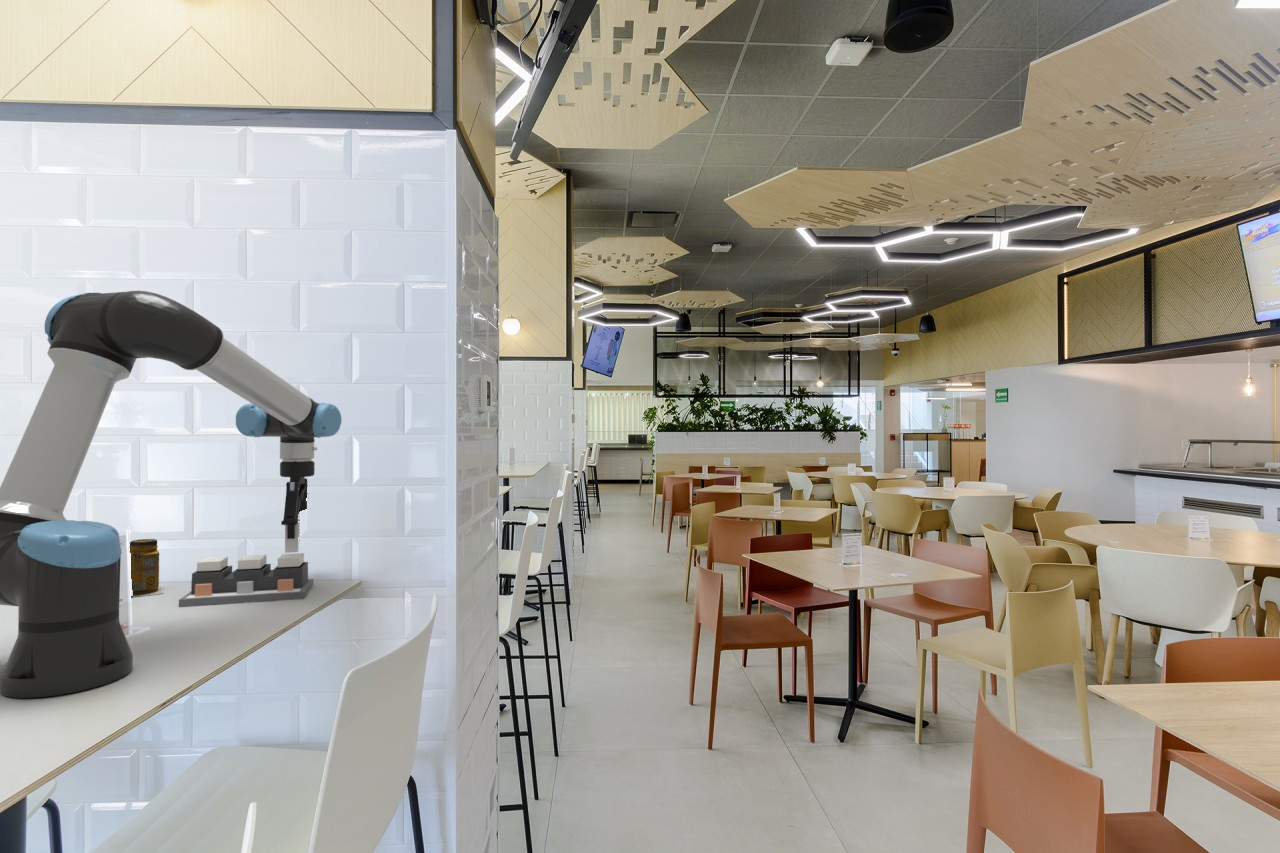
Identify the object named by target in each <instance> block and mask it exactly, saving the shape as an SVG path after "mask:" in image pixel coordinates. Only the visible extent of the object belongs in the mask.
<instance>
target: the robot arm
mask: <svg viewBox="0 0 1280 853" xmlns="http://www.w3.org/2000/svg"><path fill="white" fill-rule="evenodd" d="M44 334H46V335H47V342H48V343H49V349H48V350H47V353H46V354H47V356H48V357H49V358H50V359H51V360H50V361H52V363H53V368H52V370H51V372H50V374H49V376H48V379H47V381H46V383H45V385H44V388H43V390H42V392H41V394H40V397H39V399H38V401H37V404H36V406H35V408H34V410H33V413H32V414H31V417H30V419H29V422H28V424H27V426H26V429H25V430H24V433H23V435H22V437H21V439H20V442H19V444H18V445H17V446H18V447H17V449H16V451H15V453H14V456H13V458H12V460H11V462H10V464H9V466H8V469H7V471H6V474H5V476H4V478H3V479H2V482H1V485H0V606H8V607H9V606H10V607H18V613H17V614H18V618H17V620H18V623H17V624H18V629H17V630H18V631H17V638H16V640H15V642H14V645H13V647H12V648H11V649H12V650H11V652H10V654H9V657H8V659H7V661H6V664H5V667H4V669H3V671H2V674H1V677H0V693H1V694H2V695H3V696H5V697H9V698H17V699H18V698H19V699H29V698H30V699H32V698H33V699H34V698H46V697H53V696H61V695H67V694H71V693H77V692H80V691H81V692H82V691H85V690H89V689H93V688H94V689H95V688H97V687H100V686H103V685H107V684H109V683H112V682H114V681H117V680H119V679H121V678H123V677H126V676H127V675H128V674H130V673H131V672H132V671H133V669H134V666H133V665H134V664H133V662H134V661H133V660H134V657H133V656H134V655H133V651H132V649H131V646H130V645H129V642H128V640H127V637H126V634H125V632H124V630H123V627H122V625H121V623H120V622H121V621H120V596H121V595H120V594H121V593H120V592H121V591H120V588H121V587H120V586H121V557H122V556H121V555H122V548H121V540H120V533H119V532H118V530H117V529H116V528H115V527H114V526H112V525H109V524H107V523H104V522H99V521H92V520H91V521H90V520H72V519H71V520H70V519H69V520H68V519H67V518H66V517H65V516H64V510H65V508H66V506H67V504H68V503H67V502H68V500H69V498H70V495H71V493H72V491H73V489H74V486H75V484H76V481H77V478H78V476H79V473H80V471H81V468H82V466H83V464H84V462H85V458H86V456H87V453H88V451H89V449H90V446H91V443H92V441H93V438H94V436H95V434H96V431H97V429H98V426H99V424H100V421H101V418H102V416H103V414H104V411H105V409H106V407H107V404H108V401H109V399H110V397H111V394H112V391H113V389H114V386H115V384H116V383H118V382H120V381H123V380H126V379H128V378H129V377H130V375H131V372H132V370H133V368H134V366H135V363H136V360H137V359H146V358H150V359H156V360H163V361H167V362H170V363H172V364H175V365H176V366H179V367H180V368H182V369H184V370H186V371H198V372H200V373H201V374H203V375H205V376H206V377H208V378H210V379H211V380H213V381H214V382H216V383H218V384H219V385H221V386H223V387H224V388H226V389H228V390H229V391H231V392H233V393H234V394H235V395H237V396H239V397H240V398H242V399H244V400H246V401H247V402H249V403H246V404H243V405H242V406H240V408H238V410H237V412H236V414H235V426H236V429H237V430H238V432H239V433H241V434H242V435H243V436H245V437H254V438H261V437H264V438H265V437H267V438H268V437H269V438H270V437H276V438H279V459H280V460H282V461H281V462H280V463H279V476H280V477H282V478H289V481H287V482H286V484H285V487H286V488H285V501H284V503H285V504H284V510H283V511H284V512H283V520H281V522H280V524H281V526H284V554H292V553H298V552H299V544H300V543H299V542H298V537H299V533H300V532H299V530H300V529H299V527H300V526H299V524H300V523H298V521H300V520H299V519H298V517H299V516H298V514H299V512H300V511H302V510H305V509H307V501H306V498H307V494H308V495H309V492H308V493H307V487H308V481H307V479H308V478H307V477H313V476H315V462H314V461H313V460H312V459H314V458H315V451H318V447H317V446H315V438H318V439H320V438H327V437H332V436H334V435H336V434H338V432H339V431H340V428H341V425H342V415H341V412H340V410H339V408H338V407H337V406H336V405H335V404H332V403H327V402H326V403H325V402H321V403H318V402H316V401H315V400H313V398H311V397H309V396H307V395H306V394H305V393H304V392H301V391H300V390H299V389H298V388H296V387H295V386H293V385H292V384H290V383H289V382H288V381H286V380H285V379H283V378H282V377H280V376H279V375H277V374H276V373H274V372H273V371H271V370H270V369H269V368H268V367H266V366H265V365H263V364H261V363H260V362H258V360H256V359H255V358H253V357H252V356H250V355H248V354H247V353H246V352H244V351H243V350H241V349H240V348H239V347H238V346H236V345H235V344H233V343H232V342H230V341H229V340H227V339H225V336H224V332H223V331H222V329H221V328H220V327H219V326H218V325H217V324H214V323H213V322H212V321H211V320H208V319H207V318H206V317H204V316H203V315H201V314H199V313H198V312H197V311H194V310H193V309H191V308H189V307H187V306H186V305H184V304H182V303H180V302H178V301H176V300H174V299H171V298H169V297H167V296H166V295H165V296H164V295H161V294H159V293H155V292H151V291H146V290H129V291H117V292H116V291H114V292H84V293H83V292H82V293H79V294H76V295H71V296H67V297H66V298H63V299H61V300H60V301H57V303H55V304H54V305H53V306H52V307H51V309H49V311H48V313H47V314H46V318H45V320H44ZM306 478H307V479H306ZM299 541H300V540H299Z"/></svg>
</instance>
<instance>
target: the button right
mask: <svg viewBox="0 0 1280 853" xmlns="http://www.w3.org/2000/svg"><path fill="white" fill-rule="evenodd" d="M303 562H305V552H303V553H298V552H294V553H283V554H282V555H280V556H279V557H278V558H277V566H278V567H296V566H300V565H301V564H302V563H303Z"/></svg>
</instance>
